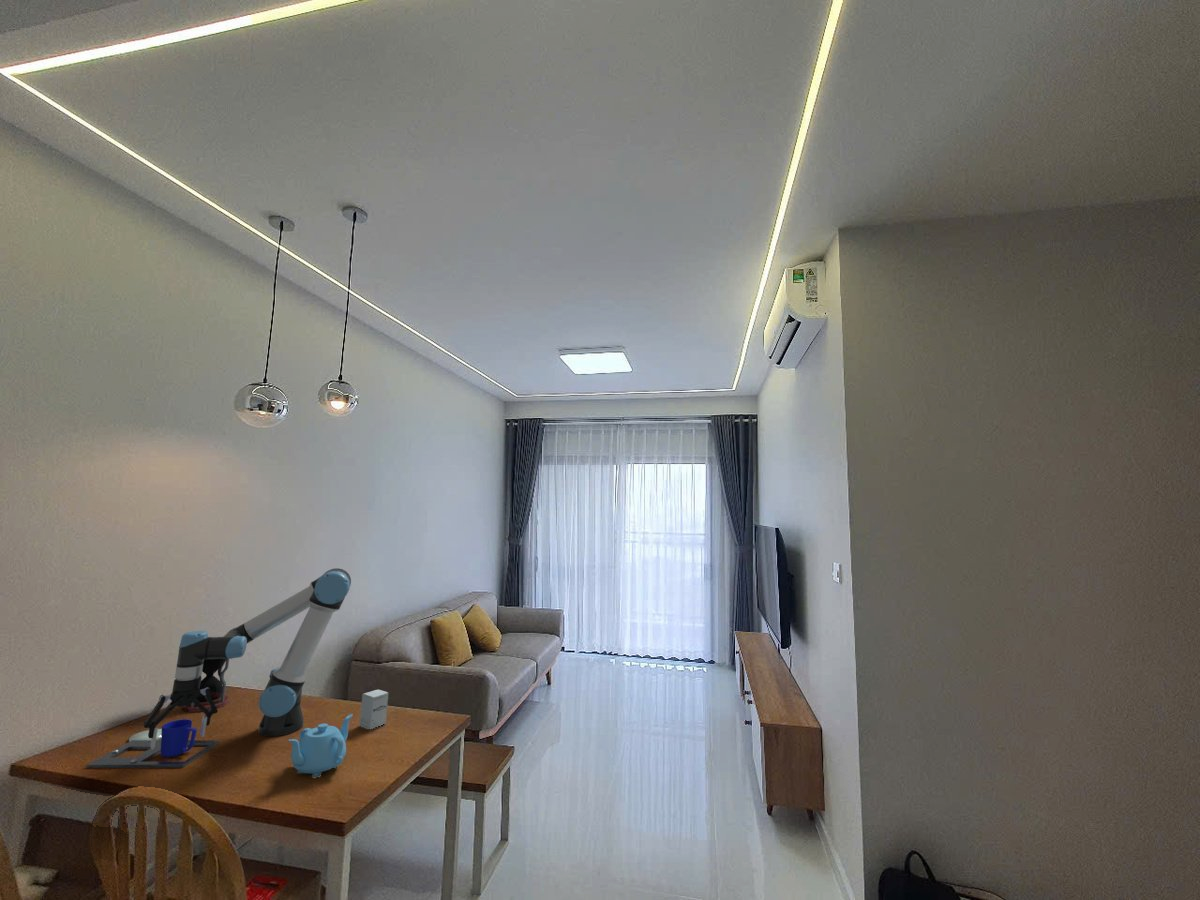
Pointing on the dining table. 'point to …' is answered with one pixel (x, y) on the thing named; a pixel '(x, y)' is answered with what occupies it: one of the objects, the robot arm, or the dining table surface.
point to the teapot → (320, 748)
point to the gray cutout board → (145, 755)
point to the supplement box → (373, 709)
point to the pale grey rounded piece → (145, 735)
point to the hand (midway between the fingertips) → (177, 741)
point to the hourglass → (211, 685)
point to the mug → (176, 737)
